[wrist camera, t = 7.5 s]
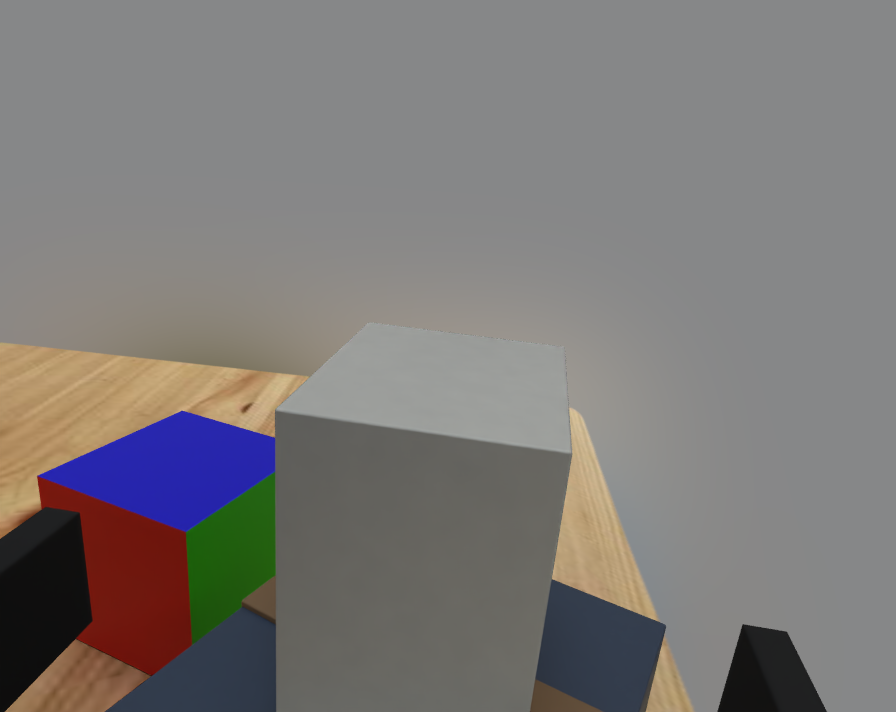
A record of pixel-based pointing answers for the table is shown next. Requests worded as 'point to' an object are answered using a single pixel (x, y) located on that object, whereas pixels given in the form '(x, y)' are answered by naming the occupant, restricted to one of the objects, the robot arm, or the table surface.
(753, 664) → the robot arm
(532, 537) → the white box
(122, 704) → the storage box
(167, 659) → the cube
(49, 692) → the table surface
